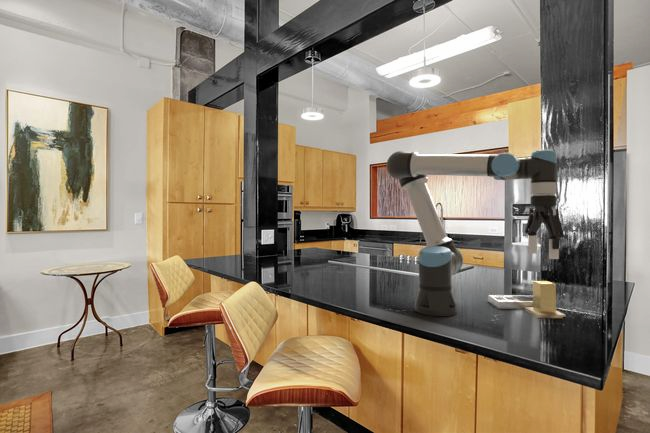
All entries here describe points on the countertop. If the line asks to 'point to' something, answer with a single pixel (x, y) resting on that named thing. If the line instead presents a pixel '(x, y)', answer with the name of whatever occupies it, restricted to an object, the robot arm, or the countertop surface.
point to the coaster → (544, 315)
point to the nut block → (544, 296)
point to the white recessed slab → (511, 301)
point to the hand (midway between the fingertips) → (542, 256)
